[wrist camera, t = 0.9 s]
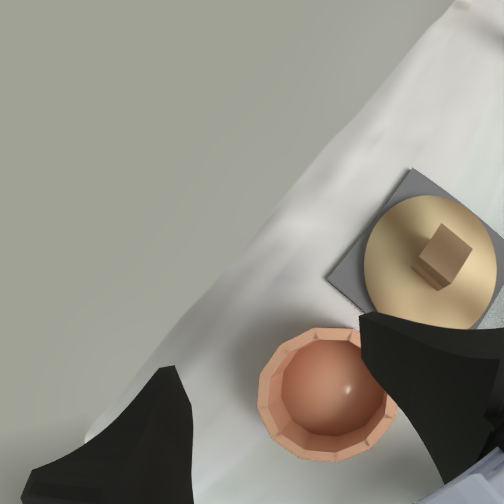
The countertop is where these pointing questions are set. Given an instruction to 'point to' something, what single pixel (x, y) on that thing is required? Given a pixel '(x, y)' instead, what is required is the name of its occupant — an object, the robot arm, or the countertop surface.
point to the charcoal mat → (352, 266)
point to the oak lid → (430, 263)
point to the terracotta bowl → (323, 397)
